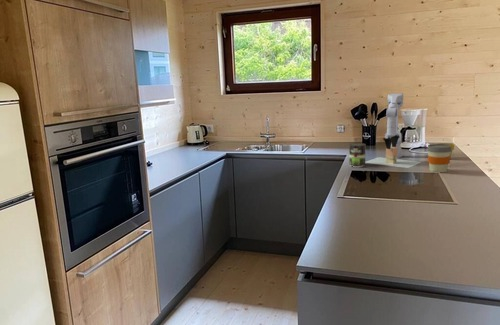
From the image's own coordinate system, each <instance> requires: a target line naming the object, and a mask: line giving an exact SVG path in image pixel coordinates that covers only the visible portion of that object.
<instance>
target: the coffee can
mask: <svg viewBox="0 0 500 325" xmlns="http://www.w3.org/2000/svg"><path fill="white" fill-rule="evenodd" d="M348 145H349V147H348V151H349V154H348V155H349V156H348V158H349V159H348V160H349V162H348V164H349V165H350V166H349V165H348V166H349V167H351V166H353V167H352V168H363V166H364V167H365V166H366V163H365V162H366V146H367V144H366V143H362V142H355V143H354V142H352V143H349V144H348Z"/></svg>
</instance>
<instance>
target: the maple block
mask: <svg viewBox="0 0 500 325" xmlns="http://www.w3.org/2000/svg"><path fill="white" fill-rule="evenodd" d="M385 158H386V161H385V163H390V164H394V163H396V159H398V158H397V155H396V156H387V155H386V154H385Z"/></svg>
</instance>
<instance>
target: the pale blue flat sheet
mask: <svg viewBox="0 0 500 325" xmlns="http://www.w3.org/2000/svg"><path fill="white" fill-rule="evenodd" d="M385 161H386V157H382V156H379V157H378V156H377V157H375V158H372V159H369V160H365V164H374V165H381V166H388V167H396V168H397V167H398V168H405V169H409V168H411V167H414V166H416V165H418V164H420V163H422V161H418V160H417V161H416V160H407V159H406V160H405V159H399V158H397V159H396V163H394V164H390V163H385Z"/></svg>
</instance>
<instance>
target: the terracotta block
mask: <svg viewBox="0 0 500 325" xmlns="http://www.w3.org/2000/svg"><path fill="white" fill-rule="evenodd" d="M386 155H387V156H396V155H397V147H391V148H390V149H387V148H386V147H385V156H386Z"/></svg>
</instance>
